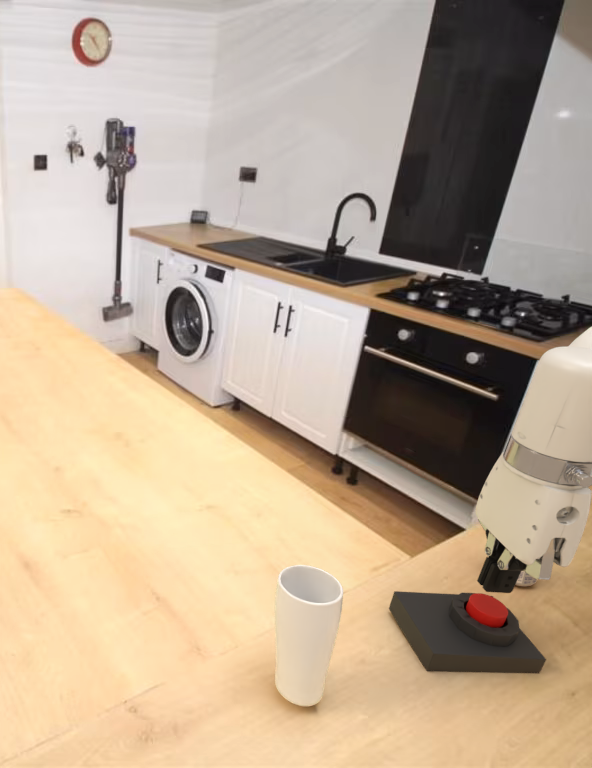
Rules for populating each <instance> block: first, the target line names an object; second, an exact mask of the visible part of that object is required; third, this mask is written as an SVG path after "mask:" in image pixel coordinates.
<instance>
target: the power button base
mask: <svg viewBox="0 0 592 768" xmlns="http://www.w3.org/2000/svg"><path fill="white" fill-rule="evenodd" d="M475 593H476V592H460V593H440V592H439V593H437V592H416V591H398V590H397V591H393V594H392V597H391V601H390V604H389V607H388V609H389V611H390V613H391V615H392V617H393V618H394V620H395V621H396V623H397V625H398V627H399V628H400V630H401V632H402V633H403V635H404V636H405V638H406V639H407V641H408V643H409V645H410V646H411V648H412V650H413V652H414V653H415V655H416V657H417V659H418V660H419V661H420V663H421V665H422V666H423V668H424V669H425V671H426V672H433V673H435V672H436V673H437V672H441V673H489V674H490V673H491V674H492V673H493V674H540V673H541V671H542V668H544V665H545V663H546V661H547V658H546V657H545V656H544V655H543V653H541V652H540V650H539V649H538V648H537V646H535V644H534V643H533V642H532V641H531V640H530V639H529V637H528V636H527V635H526V634H525V632H524V631H523V630H522V629H521V628H520V621H519V619H518V618H517V617H516V615H515V614H514V613H513V612H512V611H511V610H510V608H509V607H506V608H507V610H508V616H507V618H506V620H505V623H504V625H503V626H502V627H499V628H492V627H489V626H486V625H484V624H481V623H479V622H478V621H476V620H475V619H473V618H472V617H470V616H469V614H468V613H467V611H466V606H467V603H468V600H469V598H470V596H471V595H472V594H475ZM490 596H491V597H494V596H493V595H490Z"/></svg>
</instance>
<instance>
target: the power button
mask: <svg viewBox="0 0 592 768" xmlns="http://www.w3.org/2000/svg"><path fill="white" fill-rule="evenodd" d="M474 593H475V594H472V595H471V596H470V598H469V600H468V603H467V606H466V611H467V613H468V614H469V616H470V617H472V618H473V619H475V620H476V621H478V622H479V623H481V624H484V625H486V626H489V627H492V628H499V627H502V626H503V625H504V623H505V620H506V618H507V616H508V610H507V608H508V607H506V605H505V604H504V603H503V602H501V601H500V600H499V599H497V598H495V597H494V596H493V597H491V596H492V595H488V594H485V593H480V592H474Z"/></svg>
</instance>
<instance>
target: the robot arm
mask: <svg viewBox="0 0 592 768" xmlns="http://www.w3.org/2000/svg"><path fill="white" fill-rule="evenodd" d="M514 422H515V423H514V425H513V428H512V430H511V434H510V436H509V439H508V441H507V444H506V446H505V449H504V451H503V452H501V454H500V456H499V457H498V458H497V460H496V462H495V463H494V465H493V466H492V468H491V470H490V472H489V473H488V476H487V477H486V479H485V482H484V484H483V486H482V488H481V491H480V493H479V495H478V499H477V502H476V506H475V511H474V512H475V515H476V517H477V520H478V523H479V525H480V526H481V527H482V529H483V531H484V532H485V538H486V543H485V546H484V553H485V555H486V558H485V560H484V563H483V565H482V567H481V570H480V572H479V575H478V577H477V580H476V581H477V583H478V585H480V586H482V589H483V590H484V591H485V592H486V593H498V594H511V593H512V592H513V591H514V589H515V586H516V585H515V584H516V582H517V580H518V577H519V575H520V573H521V571H525V573H527V574H528V575H530V576H531V577H533V578H534V579H537V581H538V580H539V581H549V580H551V577H552V571H553V567H554V564H555V565H557V566H559V567H561V568H567V567H569V566H570V564H571V563H572V561H573V559H574V558H575V555H576V553H577V551H578V548H579V545H580V544H581V541H582V538H583V534H584V532H585V529H586V525H587V522H588V518H589V516H590V515H589V514H590V509H591V504H592V489H590V488H589V487H591V486H592V326H590V327H588V328H587V329H586V330H585V331H583V332H582V333H581V334H580V335H578V336H577V337H576V338H575V339H574V340H573V341H572V342H571V343H570V344H569V345H568V346H556V347H553V348H550V349H548V350H547V351H545V352H543V354H542V355H541V357H540V358H539V360H538V362H537V365H536V367H535V370H534V372H533V374H532V378H531V381H530V383H529V386H528V388H527V391H526V394H525V396H524V399H523V402H522V403H521V407H520V410H519V412H518V414H517V418H516V420H515V421H514ZM515 558H516V559H515Z"/></svg>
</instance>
